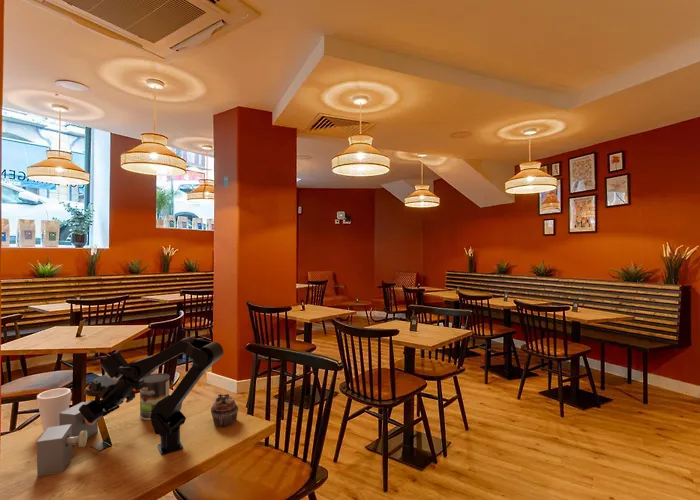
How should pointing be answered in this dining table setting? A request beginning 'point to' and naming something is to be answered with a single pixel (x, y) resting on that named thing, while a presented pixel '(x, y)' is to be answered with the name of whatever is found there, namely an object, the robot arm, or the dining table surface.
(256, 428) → the dining table surface
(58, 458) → the left button box
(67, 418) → the right button box
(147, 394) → the coffee can
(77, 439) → the sage button
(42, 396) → the foam cup
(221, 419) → the cupcake
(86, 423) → the terracotta button
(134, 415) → the dining table surface
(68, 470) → the dining table surface
